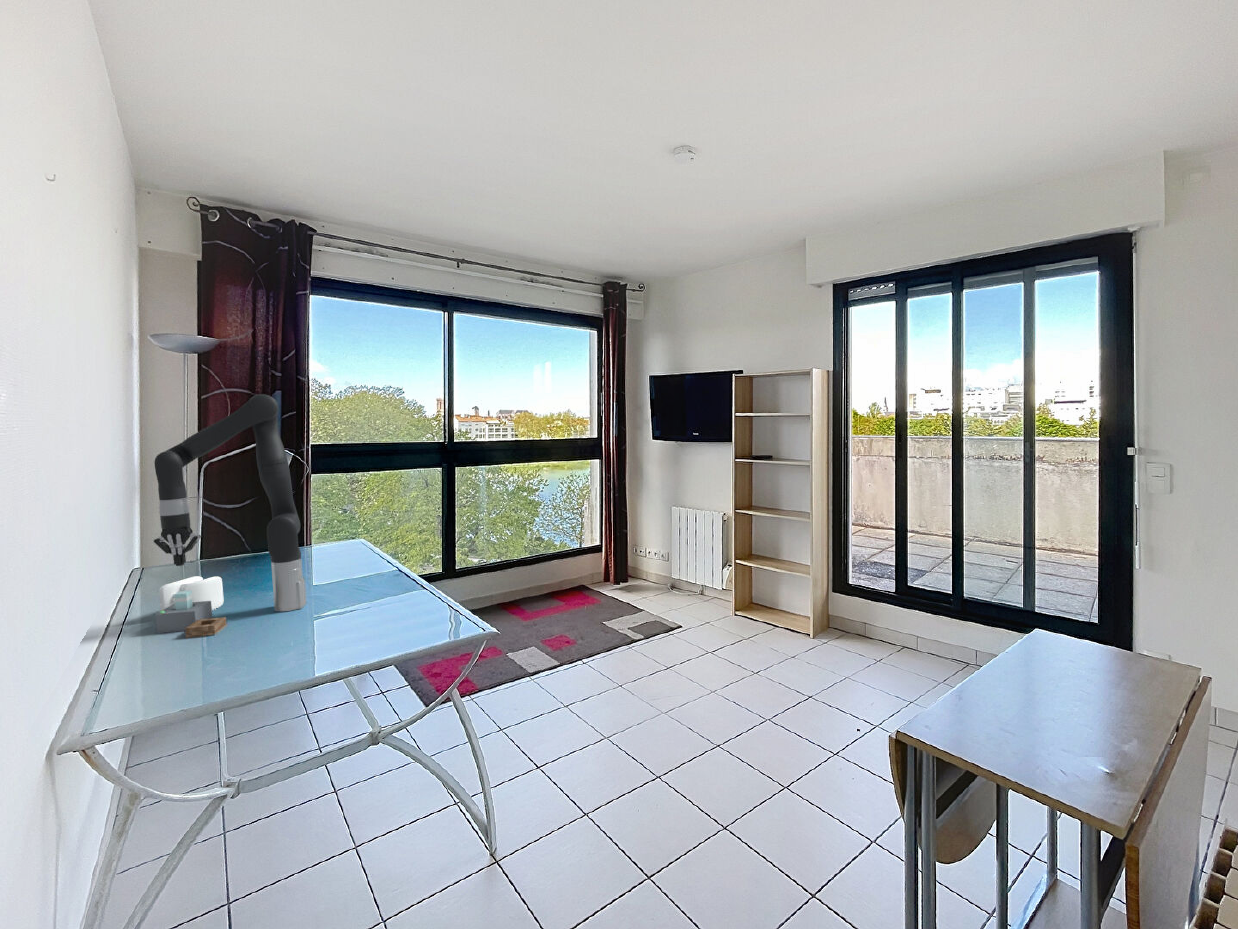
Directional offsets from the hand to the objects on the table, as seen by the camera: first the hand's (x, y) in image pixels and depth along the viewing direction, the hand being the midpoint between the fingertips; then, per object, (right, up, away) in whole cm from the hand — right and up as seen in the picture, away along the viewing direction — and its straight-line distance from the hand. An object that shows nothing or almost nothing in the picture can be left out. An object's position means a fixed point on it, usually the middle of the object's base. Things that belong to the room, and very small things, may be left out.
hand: (180, 565), depth 187 cm
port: (0, -20, +2) cm, 20 cm away
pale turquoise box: (0, -19, +2) cm, 19 cm away
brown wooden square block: (+12, -20, -5) cm, 24 cm away
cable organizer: (-6, -19, +14) cm, 25 cm away
